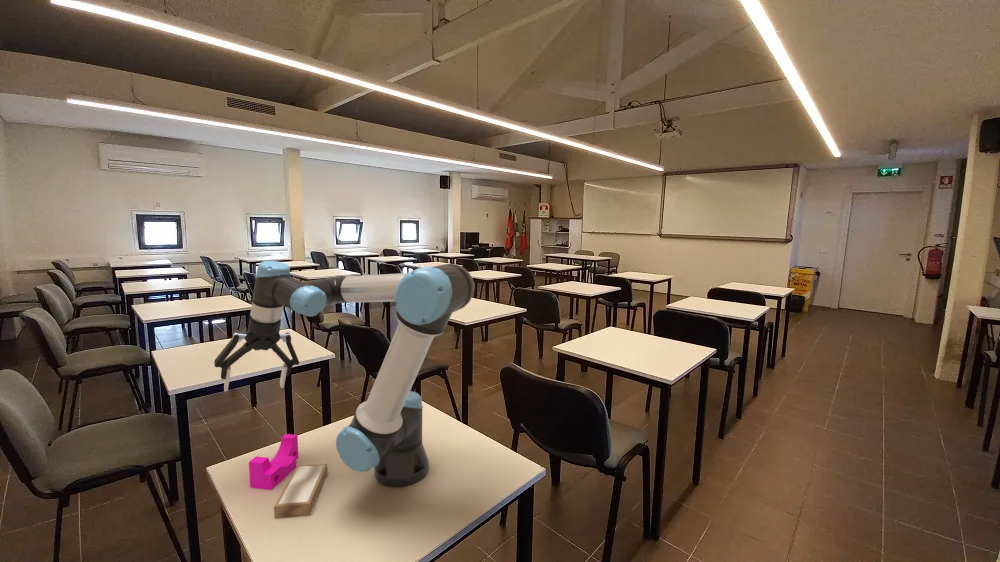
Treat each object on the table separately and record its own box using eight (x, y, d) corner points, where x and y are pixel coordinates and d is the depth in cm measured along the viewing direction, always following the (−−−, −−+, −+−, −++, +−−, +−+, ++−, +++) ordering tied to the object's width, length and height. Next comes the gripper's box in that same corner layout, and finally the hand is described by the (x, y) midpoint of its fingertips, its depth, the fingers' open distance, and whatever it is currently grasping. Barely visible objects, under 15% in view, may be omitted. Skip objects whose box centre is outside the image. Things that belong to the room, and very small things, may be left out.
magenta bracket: (271, 490, 108) (270, 464, 107) (250, 488, 109) (248, 461, 108) (306, 459, 123) (305, 435, 122) (287, 457, 123) (285, 433, 122)
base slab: (327, 473, 115) (327, 463, 115) (310, 515, 99) (309, 503, 98) (297, 475, 114) (296, 465, 114) (274, 518, 97) (273, 506, 97)
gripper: (312, 314, 121) (300, 377, 125) (209, 310, 106) (200, 382, 110) (317, 324, 115) (305, 390, 120) (209, 321, 100) (199, 397, 105)
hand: (254, 387), depth 115 cm, fingers open, 13 cm apart
